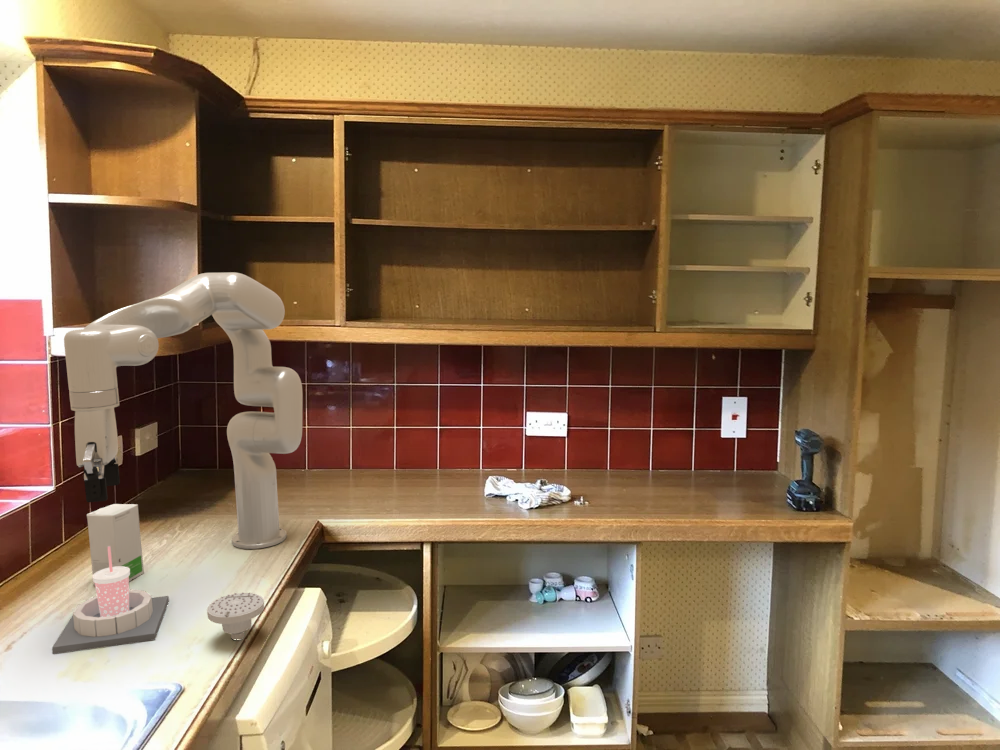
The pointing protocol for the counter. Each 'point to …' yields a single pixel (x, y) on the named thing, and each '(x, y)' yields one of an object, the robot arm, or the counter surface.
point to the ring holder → (112, 624)
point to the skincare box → (116, 538)
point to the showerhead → (235, 612)
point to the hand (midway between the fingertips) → (104, 493)
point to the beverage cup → (112, 589)
